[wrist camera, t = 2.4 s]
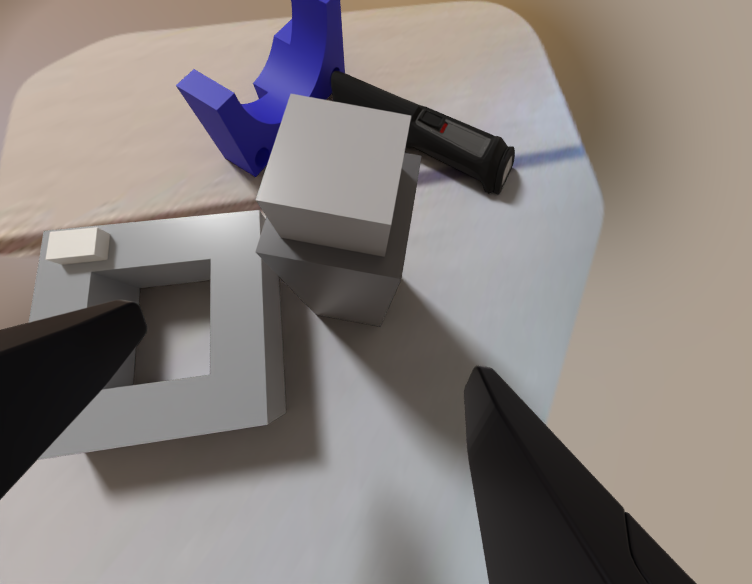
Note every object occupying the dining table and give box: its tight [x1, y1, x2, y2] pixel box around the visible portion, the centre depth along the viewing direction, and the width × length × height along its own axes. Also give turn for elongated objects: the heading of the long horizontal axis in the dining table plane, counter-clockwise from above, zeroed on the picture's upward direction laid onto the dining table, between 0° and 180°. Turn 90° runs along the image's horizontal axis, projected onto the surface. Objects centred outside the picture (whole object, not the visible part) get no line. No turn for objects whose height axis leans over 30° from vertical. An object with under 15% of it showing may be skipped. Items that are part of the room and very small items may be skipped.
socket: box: [29, 210, 286, 460], centre depth 16 cm, size 12×12×4 cm
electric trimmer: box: [331, 71, 515, 194], centre depth 22 cm, size 4×16×3 cm, turn 62°
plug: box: [255, 94, 421, 327], centre depth 13 cm, size 4×4×13 cm
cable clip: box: [176, 0, 345, 177], centre depth 20 cm, size 12×4×6 cm, turn 147°
